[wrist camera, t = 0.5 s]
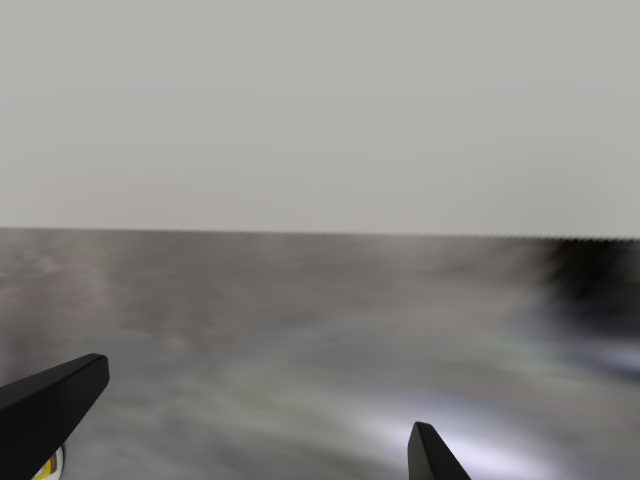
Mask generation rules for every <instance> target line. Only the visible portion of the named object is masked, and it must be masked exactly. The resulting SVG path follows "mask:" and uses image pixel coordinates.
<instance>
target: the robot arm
mask: <svg viewBox="0 0 640 480" xmlns="http://www.w3.org/2000/svg"><path fill="white" fill-rule="evenodd" d="M109 379H110V375H109V365H108V358H107V357H106V356H105V355H101V354H96V353H91V354H88V355H85V356H82V357H80V358H77V359H74V360H72V361H69V362H66V363H64V364H61V365H58V366H56V367H53V368H50V369H48V370H45V371H42V372H40V373H37V374H34V375H32V376H29V377H26V378H24V379H21V380H18V381H16V382H13V383H10V384H7V385H5V386H2V387H0V480H32V478H33V477H34V476H35V475H36V474H37V473H38V472H39V470H40V469H41V468H42V467H43V466H44V465H45V464H46V462H47V461H48V460H49V459H50V458H51V457H52V456H53V455H54V453H55V452H56V451H57V450H58V449H59V448H60V446H61V445H62V444H63V443H64V442H65V441H66V439H67V438H68V437H69V436H70V434H71V433H72V432H73V430H74V429H75V428H76V426H77V425H78V424H79V422H80V421H81V420H82V419H83V417H84V416H85V415H86V413H87V412H88V411H89V409H90V408H91V407H92V405H93V404H94V403H95V401H96V400H97V399H98V397H99V396H100V395H101V393H102V392H103V391H104V389H105V388H106V386H107V385H108V382H109ZM408 468H409V480H471V478H470V477H469V476H468V474H467V473H466V471H465V470H464V469H463V467H462V466H461V465H460V463H459V462H458V460H457V459H456V458H455V456H454V455H453V454H452V452H451V451H450V449H449V448H448V447H447V445H446V444H445V443H444V441H443V440H442V438H441V437H440V436H439V434H438V433H437V432H436V430H435V429H434V427H433V426H432V425H430V424H428V423H423V422H418V421H417V422H415V423H414V426H413V429H412V432H411V436H410V439H409V443H408Z"/></svg>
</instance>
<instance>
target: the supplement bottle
mask: <svg viewBox="0 0 640 480" xmlns="http://www.w3.org/2000/svg"><path fill="white" fill-rule="evenodd" d="M62 466H63V453H62V449H61V446H60V448H59V449H58V450H57V451H56V452H55V453H54V455H53V456H52V457H51V458H50V459H49V460H48V461H47V462H46V464H45V465H44V466H43V467H42V468H41V469H40V470H39V472H38V473H37V474H36V475H35V476H34V477H33V478H32V480H59V478H60V475H61V471H62Z"/></svg>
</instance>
